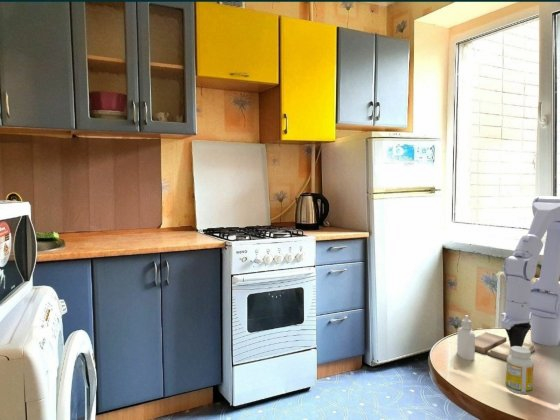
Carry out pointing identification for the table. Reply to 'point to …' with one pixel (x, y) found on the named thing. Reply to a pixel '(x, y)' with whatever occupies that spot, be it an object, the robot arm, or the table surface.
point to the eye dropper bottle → (466, 340)
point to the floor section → (488, 342)
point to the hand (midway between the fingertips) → (516, 349)
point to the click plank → (506, 350)
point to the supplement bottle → (519, 370)
